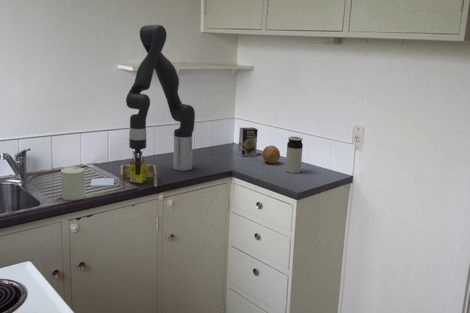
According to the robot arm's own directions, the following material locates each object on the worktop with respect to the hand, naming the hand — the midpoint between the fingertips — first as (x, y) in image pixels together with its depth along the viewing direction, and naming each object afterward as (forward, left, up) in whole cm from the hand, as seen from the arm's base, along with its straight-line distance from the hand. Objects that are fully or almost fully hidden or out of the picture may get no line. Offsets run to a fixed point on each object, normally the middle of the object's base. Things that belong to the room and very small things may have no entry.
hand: (137, 172), depth 222 cm
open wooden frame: (0, 0, -5) cm, 5 cm away
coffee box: (-64, -48, -5) cm, 80 cm away
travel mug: (-80, -13, -5) cm, 82 cm away
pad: (+16, 0, -5) cm, 16 cm away
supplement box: (0, 0, -5) cm, 5 cm away
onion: (-73, -30, -5) cm, 79 cm away
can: (+27, +18, -5) cm, 32 cm away
